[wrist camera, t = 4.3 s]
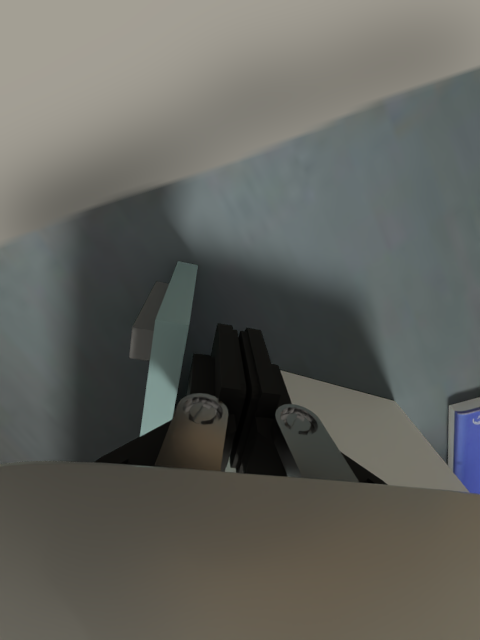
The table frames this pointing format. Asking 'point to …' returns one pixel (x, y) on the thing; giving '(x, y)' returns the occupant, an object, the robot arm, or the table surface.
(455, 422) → the hard drive
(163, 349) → the side door
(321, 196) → the table surface
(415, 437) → the white knobbed box
